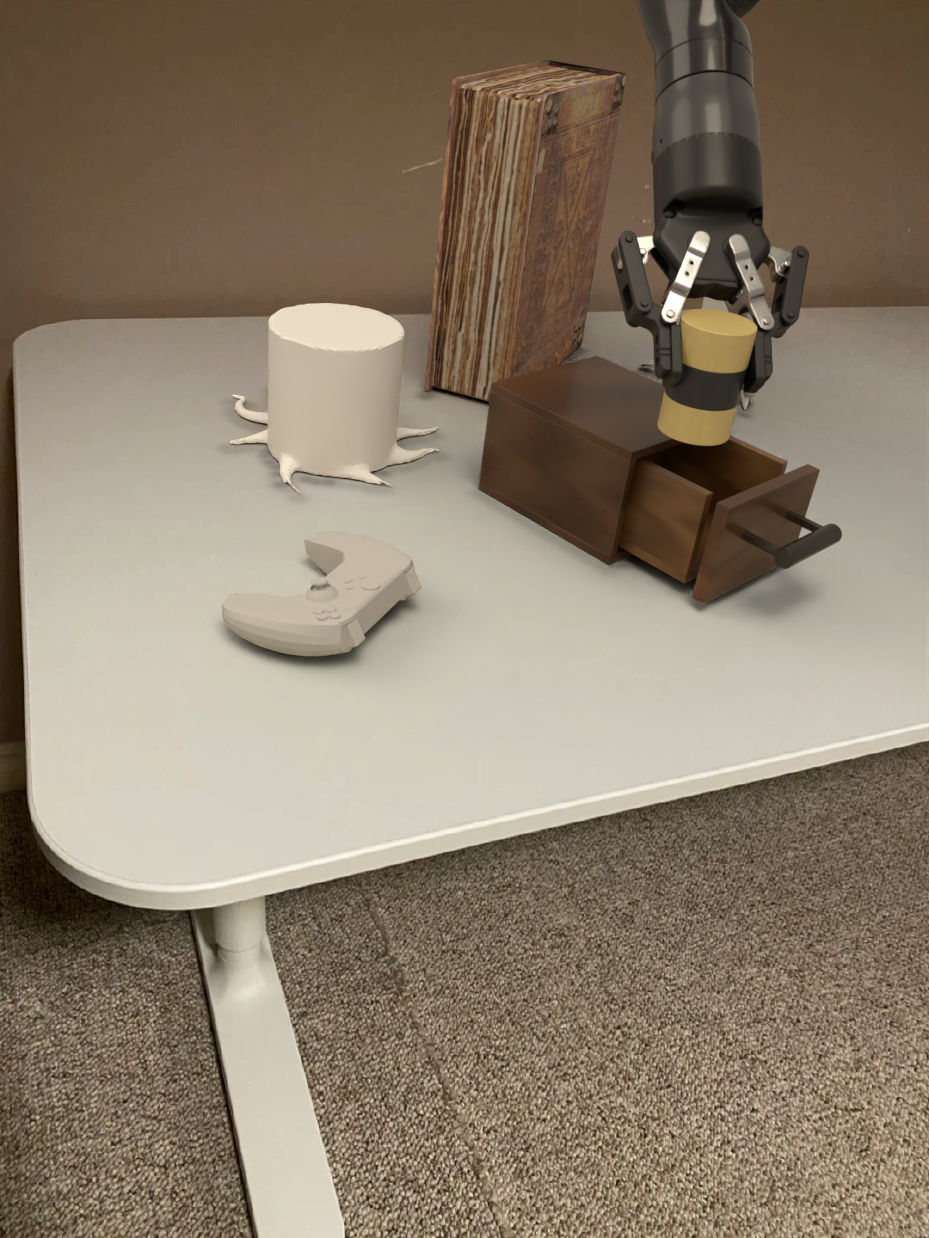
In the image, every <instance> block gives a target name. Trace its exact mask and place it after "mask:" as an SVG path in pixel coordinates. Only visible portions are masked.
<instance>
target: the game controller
mask: <svg viewBox="0 0 929 1238" xmlns="http://www.w3.org/2000/svg"><path fill="white" fill-rule="evenodd" d="M304 549H305V552H306V554H307V555H308V557H309V559H310V560H311V561H312V562H313V563H314V565H316V567H318V568H319V569H321V570H322V572H324V573H325V574H327V575H325V576H318V577H314V578H312V579H311V580H310V585H311V586H310V587H309V588H308V589H307V590H306V592H304V593H296V594H290V595H282V594H275V593H252V592H251V593H231V594H229V595H228V596H227V597H226V599H224V601H223V602H221V614H222V619H223V620H224V623H225V624H226V625H227V627H228V628H229V629H230V630H231V631H232V632H234V633H235V635H237V636H239V637H241V638H242V639H243V640H245V641H248V642H250V643H252V644H254V645H256V646H258V647H261V648H263V649H266V650H269V651H273V652H276V653H281V654H284V655H285V654H286V655H291V656H298V657H299V656H301V657H327V656H331V655H339V654H344V653H349V652H351V651H352V650H353V648H355V647H358V646H359V645H361V644H362V643H363V642H364V641H365V640H366V633H367V632H368V631H369V630H371V628H372V627H373V626H374V625H376V624H377V623H378V621H380V620H381V619H382V618H383V617H384V616H385V615H386V614H387V613H388V612H389V611H390V610H391V609H392V608H393V607H394V606H396V604H397V603H399V601H405V600H407V599H408V598H409V597H410V596H413V595H416V594H417V593H418V592H419V591H420V590H422V585H421V582H420V580H419V577H418V575H417V572H416V569H415V564H414V560H413V559H412V558H411V556H410V555H408V553H406V552H405V551H403V550H401V549H399V548H397V547H395V546H394V545H392V544H389V543H387V542H384V541H381V540H379V539H376V538H372V537H370V536H365V535H361V534H357V533H351V532H344V531H322V532H318V533H315V534H313V535H312V536H310V537H307V538H305V539H304Z"/></svg>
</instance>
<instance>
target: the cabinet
mask: <svg viewBox="0 0 929 1238" xmlns="http://www.w3.org/2000/svg"><path fill="white" fill-rule="evenodd" d="M664 390H665V387H663V384H662V383H660V382H658V381H656V380H653V379H652V378H649V377H647V376H644V375H643V374H640V373H637V372H635V371H633V370H631V369H629V368H626V367H624V366H622V365H619V364H617V363H615V362H613V361H611V360H609V359H606V358H604V357H602V356H599V355H594V356H590V357H585V358H581V359H578V360H574V361H570V362H566V363H561V364H559V365H558V366H554V367H550V368H546V369H542V370H538V371H534V372H531V373H527V374H523V375H519V376H515V377H511V378H507V379H503V380H499V381H495V382H492V383H491V392H490V400H489V402H488V409H487V416H486V425H485V433H484V441H483V447H482V448H483V450H482V458H481V463H480V464H481V466H480V474H479V481H478V490H479V491H481V492H483V493H485V494H486V495H488V496H490V497H492V498H493V499H495V500H497V501H499V502H500V503H502V504H504V505H506V506H507V507H509V508H510V509H512V510H514V511H516V512H517V513H520V515H522V516H524V517H526V518H528V519H529V520H531V521H532V522H534V523H537V524H538V525H539V526H541V527H543V528H545V529H546V530H548V531H550V532H552V533H553V534H554V535H557V536H558V537H560V538H561V539H563V540H565V541H567V542H569V543H570V544H572V545H574V546H576V547H577V548H579V549H580V550H582V551H584V552H586V553H588V554H589V555H591V556H593V557H594V558H596V559H598V560H600V561H601V562H602V563H605V564H606V565H608V566H610V565H612V564H615V563H617V562H619V561H621V560H624V559H626V558H628V557H631V556H634V555H633V554H631V553H630V552H628V551H626V550H624V549H623V548H621V547H619V546H618V545H619V540H620V535H621V531H622V526H623V521H624V517H625V512H626V507H627V502H628V498H629V493H630V488H631V483H632V479H633V474H634V469H635V465H636V459H639V458H642V457H645V456H648V455H650V454H653V453H656V452H659V451H662V450H664V449H667V448H670V447H673V446H676V445H678V444H681V443H684V442H680V441H678V440H675V439H673V438H670V437H668V436H667V435H665V434H664V433H662V432H661V431H660V430H659V428H658V425H657V423H658V418H659V413H660V409H661V404H662V400H663V395H664ZM735 419H736V417H735V418H734V420H735ZM734 422H735V421H734ZM734 422H733V424H734ZM733 426H734V425H733ZM733 426H732V428H733Z"/></svg>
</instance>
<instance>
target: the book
mask: <svg viewBox="0 0 929 1238" xmlns="http://www.w3.org/2000/svg"><path fill="white" fill-rule="evenodd" d="M626 81H627V73H625V72H622V71H616V70H609V69H605V68H604V69H603V68H597V67H591V66H586V65H580V64H574V63H567V62H563V61H556V60H550V59H547V60H546V59H545V60H542V61H541V60H540V61H535V62H531V63H524V64H520V65H516V66H510V67H509V66H508V67H504V68H499V69H494V70H489V71H484V72H478V73H474V74H468V75H462V76H457V77H454V78H453V79H452V81H451V86H450V88H451V89H450V98H449V110H448V121H447V131H446V144H445V154H444V165H443V175H442V187H441V188H442V189H441V199H440V211H439V223H438V233H437V244H436V245H437V246H436V255H435V266H434V276H433V277H434V278H433V290H432V299H431V312H430V322H429V323H430V324H429V335H428V346H427V354H426V355H427V357H426V365H425V379H424V391H425V392H427V393H429V392H431V391H432V390H433V389H435V388H437V389H441V390H444V391H449V392H452V393H455V394H458V395H462V396H466V397H470V398H474V399H478V400H482V401H485V402H488V403H489V400H490V392H491V383H492V382H495V381H499V380H503V379H507V378H511V377H515V376H519V375H523V374H527V373H531V372H534V371H538V370H542V369H546V368H550V367H554V366H558V365H561V364H563V362H564V361H565V360H566V359H567V358H569V357H570V356H571V355H572V354H573V353H575V352H576V351H577V350H578V349H579V348H580V347H581V346H582V345H583V340H584V333H585V327H586V322H587V321H586V320H587V315H588V310H589V303H590V296H591V291H592V285H593V281H594V280H593V279H594V274H595V267H596V262H597V255H598V248H599V243H600V236H601V232H602V226H603V219H604V214H605V213H604V212H605V207H606V202H607V201H606V200H607V194H608V189H609V182H610V178H611V172H612V165H613V158H614V152H615V148H616V147H615V146H616V141H617V135H618V128H619V123H620V117H621V110H622V106H623V105H622V104H623V99H624V93H625V87H626Z"/></svg>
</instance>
